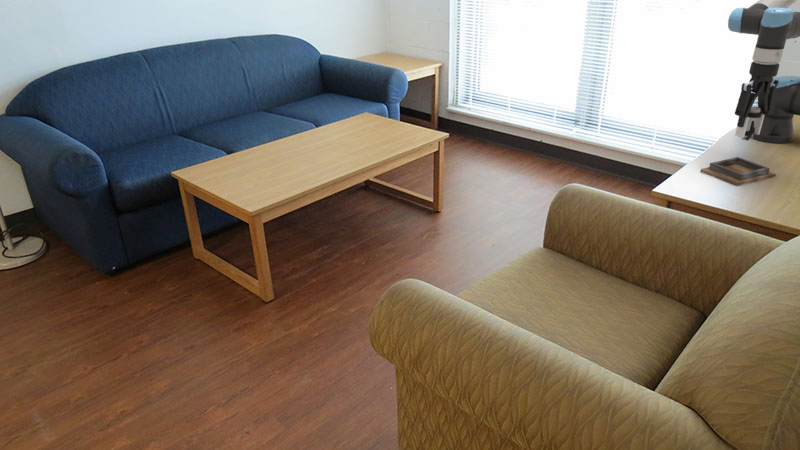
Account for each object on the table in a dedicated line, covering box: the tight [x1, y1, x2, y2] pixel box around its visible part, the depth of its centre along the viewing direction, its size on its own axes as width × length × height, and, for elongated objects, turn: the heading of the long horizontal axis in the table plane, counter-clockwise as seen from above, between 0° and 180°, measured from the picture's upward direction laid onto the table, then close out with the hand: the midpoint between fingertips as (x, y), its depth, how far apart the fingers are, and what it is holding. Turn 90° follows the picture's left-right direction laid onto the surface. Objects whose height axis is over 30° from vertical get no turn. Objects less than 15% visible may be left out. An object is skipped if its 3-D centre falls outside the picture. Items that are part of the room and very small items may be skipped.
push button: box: [741, 106, 763, 141], centre depth 190 cm, size 7×5×10 cm
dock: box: [699, 156, 777, 187], centre depth 197 cm, size 18×14×3 cm
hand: (747, 134), depth 191 cm, fingers closed on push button, 6 cm apart
